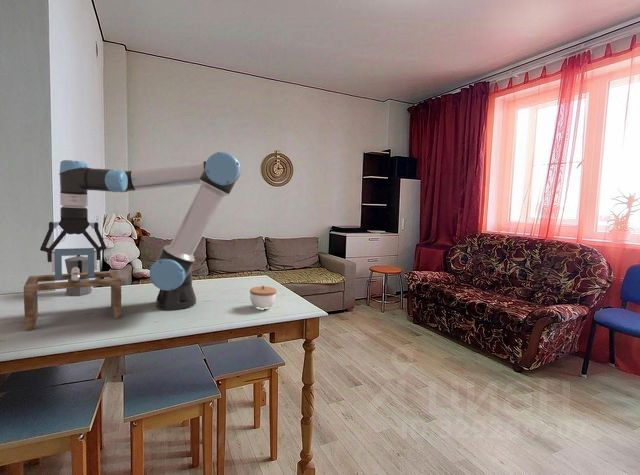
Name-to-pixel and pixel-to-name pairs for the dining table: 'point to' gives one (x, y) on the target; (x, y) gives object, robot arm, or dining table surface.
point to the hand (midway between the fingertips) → (75, 270)
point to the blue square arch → (72, 252)
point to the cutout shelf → (33, 287)
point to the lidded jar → (262, 296)
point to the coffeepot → (83, 266)
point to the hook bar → (75, 275)
